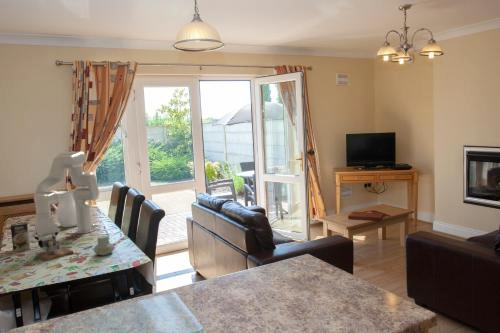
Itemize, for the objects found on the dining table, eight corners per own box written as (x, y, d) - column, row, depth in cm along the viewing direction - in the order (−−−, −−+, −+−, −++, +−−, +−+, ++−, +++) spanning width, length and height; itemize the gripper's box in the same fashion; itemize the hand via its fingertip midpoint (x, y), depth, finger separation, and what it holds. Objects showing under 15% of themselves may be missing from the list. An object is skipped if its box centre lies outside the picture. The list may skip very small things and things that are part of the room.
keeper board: (64, 248, 237) (63, 235, 236) (73, 253, 227) (71, 239, 226) (36, 256, 226) (34, 241, 226) (43, 261, 216) (41, 246, 215)
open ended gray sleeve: (59, 249, 223) (58, 240, 222) (47, 252, 218) (46, 243, 218) (51, 244, 233) (50, 236, 232) (39, 247, 228) (39, 239, 228)
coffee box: (13, 252, 237) (9, 226, 235) (13, 249, 243) (10, 224, 241) (30, 249, 241) (27, 223, 239) (30, 246, 247) (27, 221, 245)
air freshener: (93, 257, 218) (91, 240, 217) (95, 252, 226) (93, 236, 225) (114, 254, 221) (112, 237, 220) (114, 250, 229) (113, 233, 228)
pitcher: (86, 222, 304) (82, 187, 301) (74, 228, 287) (70, 191, 284) (57, 223, 306) (53, 188, 303) (44, 229, 289) (40, 192, 286)
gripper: (57, 211, 235) (60, 240, 237) (25, 217, 223) (29, 247, 225) (61, 213, 229) (65, 242, 231) (29, 219, 217) (32, 250, 219)
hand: (47, 245), depth 228 cm, fingers closed on open ended gray sleeve, 6 cm apart
